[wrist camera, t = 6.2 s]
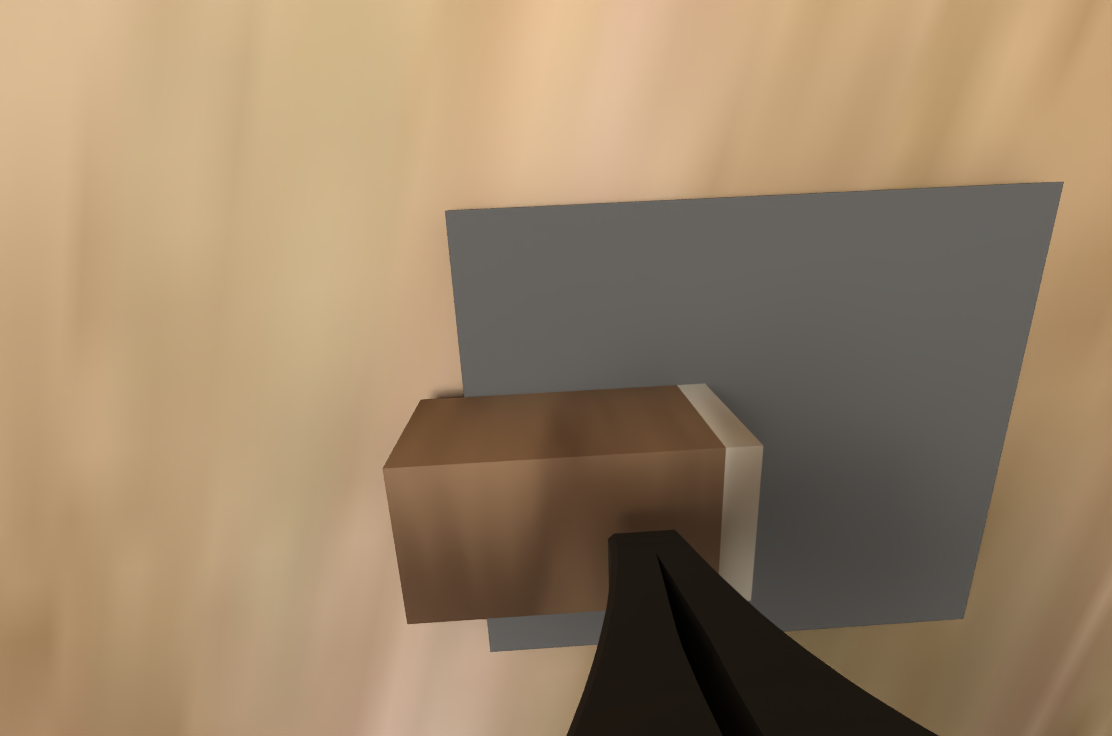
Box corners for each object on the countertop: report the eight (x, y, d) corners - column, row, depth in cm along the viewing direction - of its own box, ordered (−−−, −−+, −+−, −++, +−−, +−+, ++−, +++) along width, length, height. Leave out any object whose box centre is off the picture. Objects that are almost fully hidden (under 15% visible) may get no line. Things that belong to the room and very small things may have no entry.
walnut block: (436, 523, 16) (699, 506, 16) (407, 624, 12) (751, 600, 12) (420, 399, 15) (705, 383, 15) (382, 468, 11) (763, 445, 11)
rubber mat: (950, 605, 19) (963, 618, 18) (491, 637, 18) (490, 651, 18) (1042, 182, 14) (1064, 181, 14) (448, 210, 14) (444, 210, 13)
